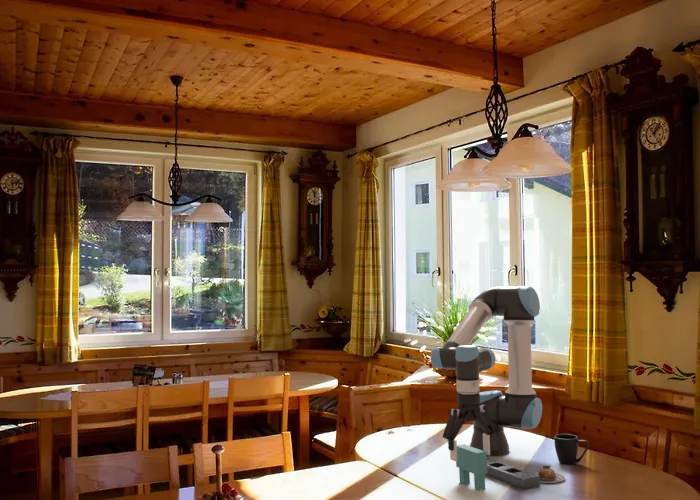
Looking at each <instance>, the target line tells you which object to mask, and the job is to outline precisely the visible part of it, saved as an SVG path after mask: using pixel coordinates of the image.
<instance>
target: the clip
mask: <svg viewBox="0 0 700 500" xmlns="http://www.w3.org/2000/svg"><path fill="white" fill-rule="evenodd" d="M487 458H488V456H487V452H485V451H482V450H479V449H476V448H473V447H470V445H467V444H464V443H462V444H457V461H455V463H456V464H455V466H456V467H457V468H458V470H459V474H458V475H459V483H461V484H464V485H465V484H469V483H471V481H470V480H471V477H470V473H471V474H473V476H474V477H473V479H474V481H473V482H474V489H475V490H477V491H482V490H483V491H484V490H486V475H485V474H487Z"/></svg>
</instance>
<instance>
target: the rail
mask: <svg viewBox="0 0 700 500" xmlns="http://www.w3.org/2000/svg"><path fill="white" fill-rule="evenodd" d="M534 473H535V472H531V471H528V470H525V469H522V468H520V467H517V466H514V465H511V464H508V463H505V462H501V461H500V460H497V459H493V458H490V457H487V474H485V477H488V478H491V479H493V480H497V481H499V482H502V483H504V484H507V485H510V486H511V487H514V488H517V489H519V490H523V491H526V490H531V489H536V488H539V487H541V483H540V481H541V480H540V476H539V475H537V474H534Z"/></svg>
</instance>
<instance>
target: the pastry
mask: <svg viewBox="0 0 700 500" xmlns="http://www.w3.org/2000/svg"><path fill="white" fill-rule="evenodd" d="M533 473H534V474H537V475H539V476H540V484H541V483H544V484H555V483H560V482H563V481H565V479H566V476H564V474H561V473H558V472H555V470H554V469H553V468H551V465H542V467H541V468H540V470H539V471H536V472H533ZM557 479H558V480H557Z"/></svg>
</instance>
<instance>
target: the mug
mask: <svg viewBox="0 0 700 500" xmlns="http://www.w3.org/2000/svg"><path fill="white" fill-rule="evenodd" d="M553 439H554V441H553V442H554V449H555V453H556V457H557V459H558V463H559V464H560V465H564V466H573V465H576V464H578V463H580V462H581V461H582V459H583V458H584V456H585V455H586V452H587V451H588V449H589V447H590V444H589V443H590V442H589V441H588V440H586V439H579V437H578V436H577V435H575V434H570V433H560V434H555V435H554V437H553ZM580 442H584V443H585V445H586V446H585V449H584V451H583V453H582V454H581V455H580V457H578V453H579V443H580ZM577 457H578V458H577Z"/></svg>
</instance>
